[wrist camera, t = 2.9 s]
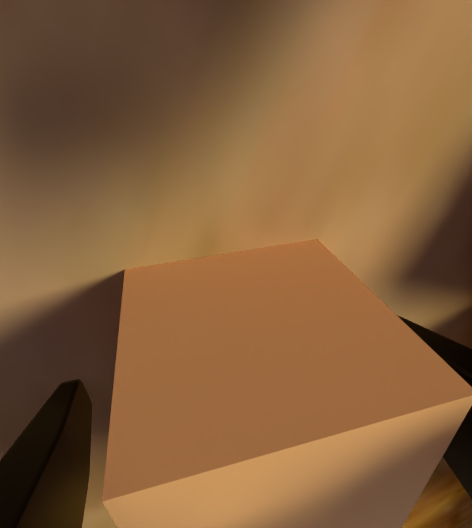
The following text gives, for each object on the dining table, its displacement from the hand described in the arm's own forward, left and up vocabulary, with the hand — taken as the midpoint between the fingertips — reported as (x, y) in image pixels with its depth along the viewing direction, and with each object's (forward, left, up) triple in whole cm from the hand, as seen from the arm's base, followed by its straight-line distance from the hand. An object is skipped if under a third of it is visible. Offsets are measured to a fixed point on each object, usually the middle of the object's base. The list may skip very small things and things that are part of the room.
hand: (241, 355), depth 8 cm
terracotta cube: (0, 0, -1) cm, 1 cm away
